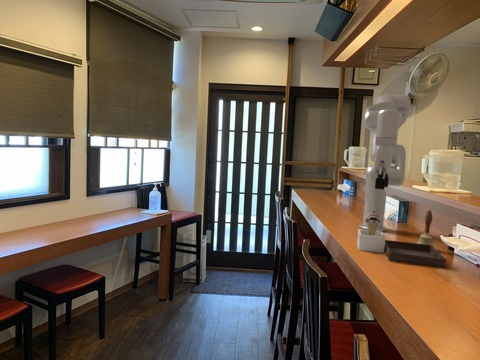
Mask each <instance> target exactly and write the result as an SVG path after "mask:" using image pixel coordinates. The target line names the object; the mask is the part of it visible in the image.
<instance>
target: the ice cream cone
mask: <svg viewBox="0 0 480 360" xmlns="http://www.w3.org/2000/svg"><path fill="white" fill-rule="evenodd" d="M365 221H366V222H367V227H368V235H369V236H374V235H375V232H376V229H377V226H378V224H379V223H380V220H379V216H378V215H377V214H376V213H375V212H374V211H373V212H372V213H369V214H368V215H367V218H366V219H365Z"/></svg>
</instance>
